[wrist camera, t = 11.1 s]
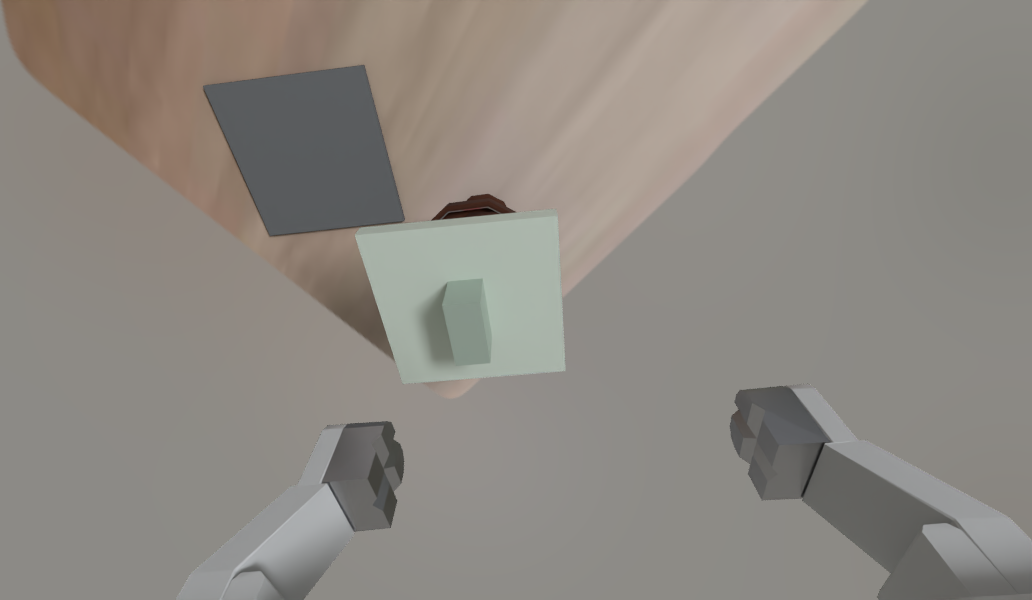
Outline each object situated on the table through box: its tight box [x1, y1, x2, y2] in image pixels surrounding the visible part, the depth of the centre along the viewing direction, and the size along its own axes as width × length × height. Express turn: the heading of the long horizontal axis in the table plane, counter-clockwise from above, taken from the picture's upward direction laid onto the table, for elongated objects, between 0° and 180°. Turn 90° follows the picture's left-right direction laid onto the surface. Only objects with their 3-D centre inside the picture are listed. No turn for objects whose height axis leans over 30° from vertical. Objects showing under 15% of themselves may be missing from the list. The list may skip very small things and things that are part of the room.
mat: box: [203, 65, 405, 236], centre depth 41 cm, size 14×14×1 cm
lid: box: [355, 209, 565, 384], centre depth 31 cm, size 13×13×4 cm
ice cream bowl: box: [431, 194, 516, 221], centre depth 39 cm, size 11×11×15 cm
